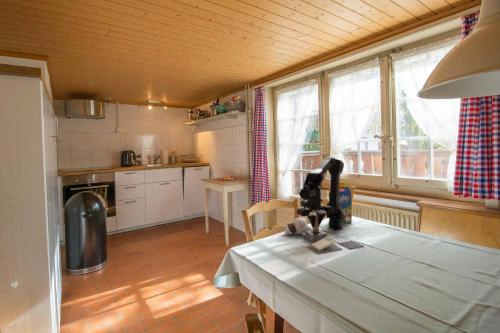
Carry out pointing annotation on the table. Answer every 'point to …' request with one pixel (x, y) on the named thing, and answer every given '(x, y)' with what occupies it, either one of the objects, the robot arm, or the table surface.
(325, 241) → the rocker
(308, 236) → the grey square block
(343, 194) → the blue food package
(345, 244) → the pad
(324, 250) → the rocker housing
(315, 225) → the stylus
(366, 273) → the table surface
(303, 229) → the toy
